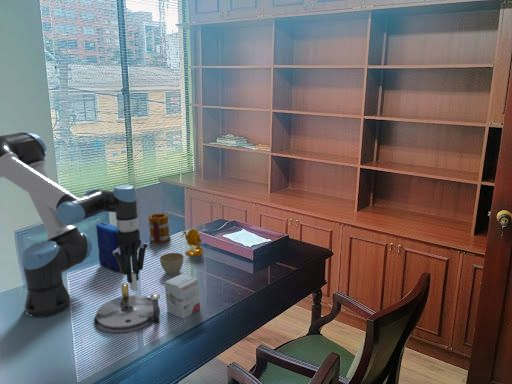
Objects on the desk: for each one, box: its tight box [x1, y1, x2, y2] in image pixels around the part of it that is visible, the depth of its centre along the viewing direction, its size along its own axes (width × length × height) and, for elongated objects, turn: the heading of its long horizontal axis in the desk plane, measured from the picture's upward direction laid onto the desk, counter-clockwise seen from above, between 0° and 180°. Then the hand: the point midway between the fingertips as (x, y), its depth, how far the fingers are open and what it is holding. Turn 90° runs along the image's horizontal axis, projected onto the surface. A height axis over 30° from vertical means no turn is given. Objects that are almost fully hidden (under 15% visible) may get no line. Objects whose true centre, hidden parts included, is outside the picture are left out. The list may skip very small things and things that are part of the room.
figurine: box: [180, 228, 204, 257], centre depth 206 cm, size 9×11×12 cm
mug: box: [147, 212, 171, 245], centre depth 222 cm, size 11×16×15 cm, turn 4°
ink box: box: [164, 273, 201, 319], centre depth 155 cm, size 9×9×12 cm
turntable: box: [96, 283, 154, 329], centre depth 153 cm, size 20×20×7 cm
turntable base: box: [93, 293, 161, 334], centre depth 153 cm, size 22×22×10 cm
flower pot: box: [159, 252, 185, 276], centre depth 187 cm, size 10×10×7 cm
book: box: [95, 221, 125, 273], centre depth 190 cm, size 14×5×20 cm, turn 53°
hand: (133, 289), depth 163 cm, fingers closed
